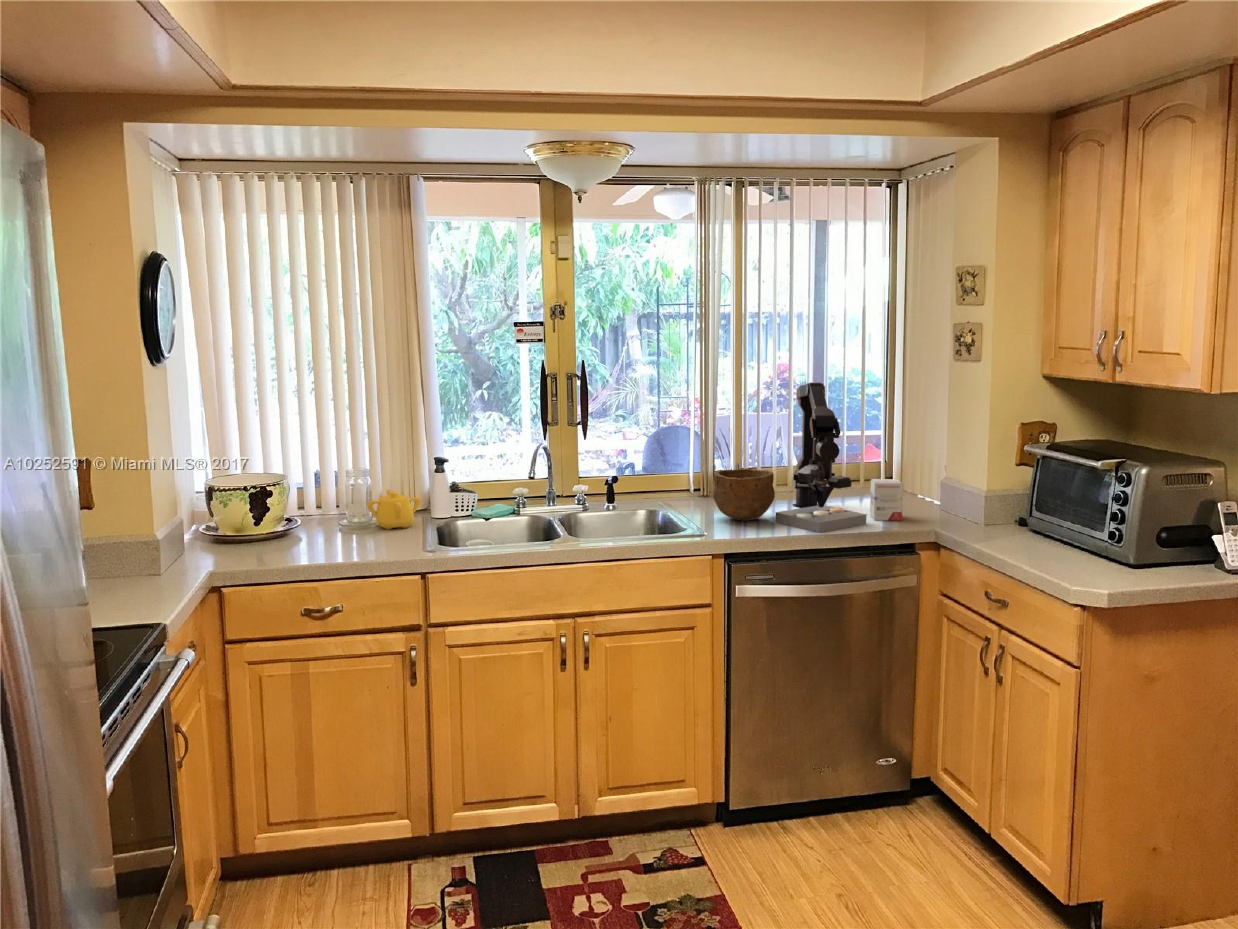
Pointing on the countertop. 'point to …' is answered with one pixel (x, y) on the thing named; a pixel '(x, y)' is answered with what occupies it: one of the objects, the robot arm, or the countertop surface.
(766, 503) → the bowl
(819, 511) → the cream button
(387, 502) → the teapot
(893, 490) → the ink box
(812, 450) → the robot arm
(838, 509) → the orange button
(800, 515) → the sage button
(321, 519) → the countertop surface
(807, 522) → the panel
